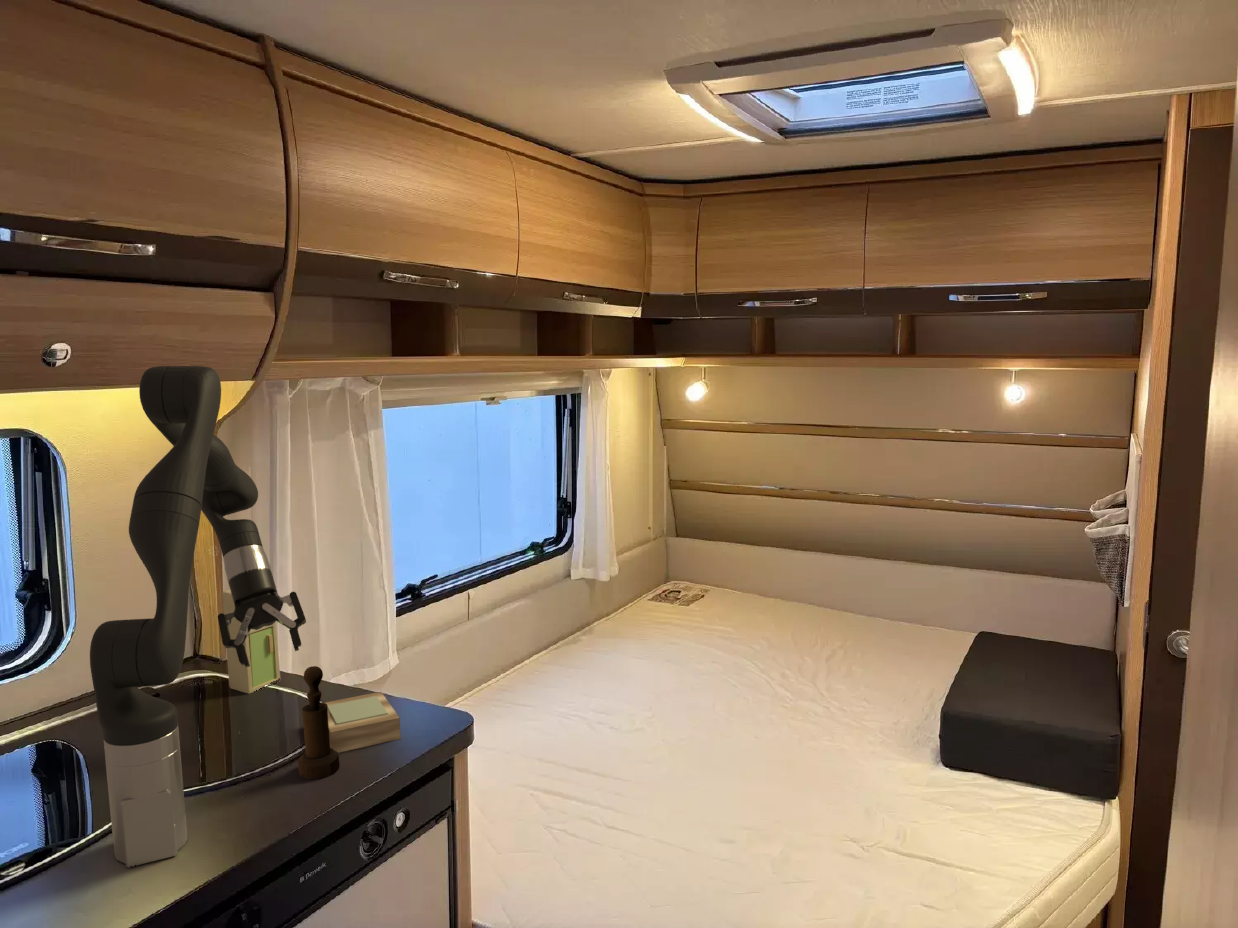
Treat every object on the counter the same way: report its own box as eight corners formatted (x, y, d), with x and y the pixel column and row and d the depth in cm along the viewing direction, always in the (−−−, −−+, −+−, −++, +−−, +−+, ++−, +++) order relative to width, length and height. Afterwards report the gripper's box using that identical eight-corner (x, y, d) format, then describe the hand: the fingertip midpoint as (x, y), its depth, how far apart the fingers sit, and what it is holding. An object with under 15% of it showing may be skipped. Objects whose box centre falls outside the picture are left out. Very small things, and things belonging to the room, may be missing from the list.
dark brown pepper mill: (291, 770, 147) (284, 667, 145) (327, 757, 152) (321, 657, 150) (310, 783, 143) (303, 677, 140) (346, 769, 147) (340, 666, 145)
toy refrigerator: (250, 695, 180) (243, 595, 177) (228, 688, 184) (220, 591, 181) (283, 682, 187) (276, 586, 184) (261, 676, 190) (254, 581, 188)
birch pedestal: (400, 738, 159) (399, 716, 158) (332, 753, 153) (330, 730, 153) (382, 711, 171) (381, 690, 170) (317, 724, 165) (316, 702, 165)
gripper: (204, 581, 156) (227, 667, 151) (287, 557, 161) (311, 639, 157) (211, 592, 163) (233, 675, 158) (290, 569, 168) (314, 648, 163)
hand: (272, 657), depth 157 cm, fingers open, 8 cm apart
